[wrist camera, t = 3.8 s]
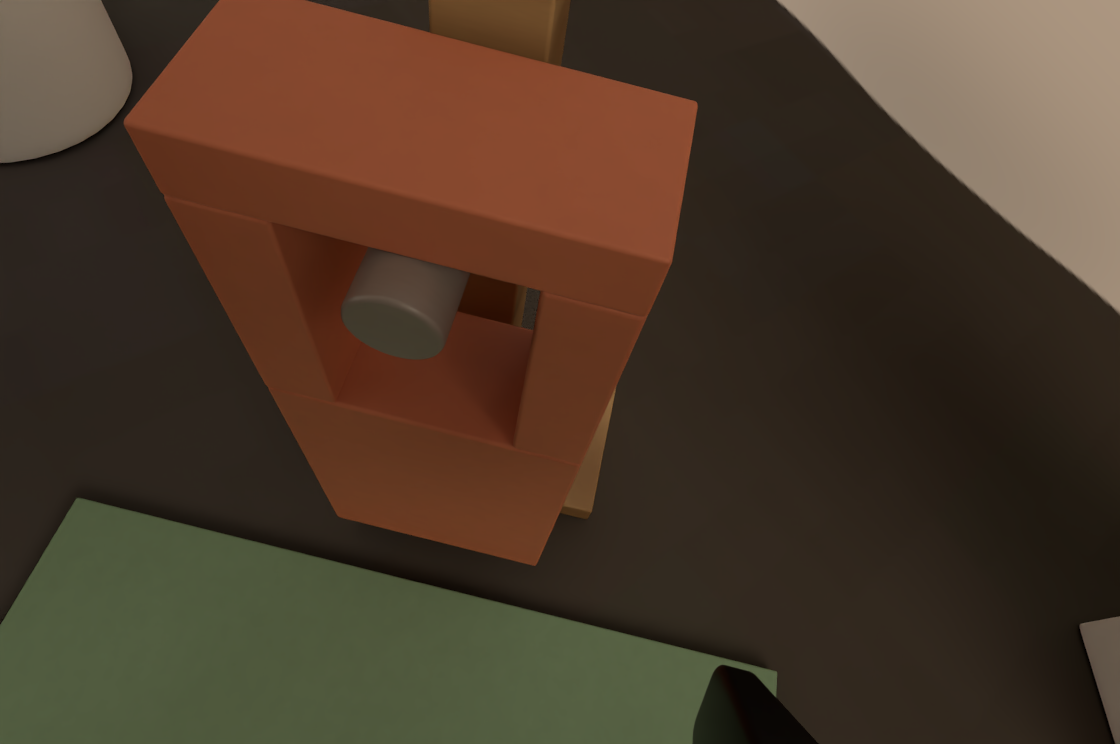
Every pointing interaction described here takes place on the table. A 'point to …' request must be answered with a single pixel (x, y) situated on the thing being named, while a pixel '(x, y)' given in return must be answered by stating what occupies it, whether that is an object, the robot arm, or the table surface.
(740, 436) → the table surface
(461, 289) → the hook stand
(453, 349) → the orange window block
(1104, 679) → the milk
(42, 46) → the bottle
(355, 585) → the mat
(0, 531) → the table surface
